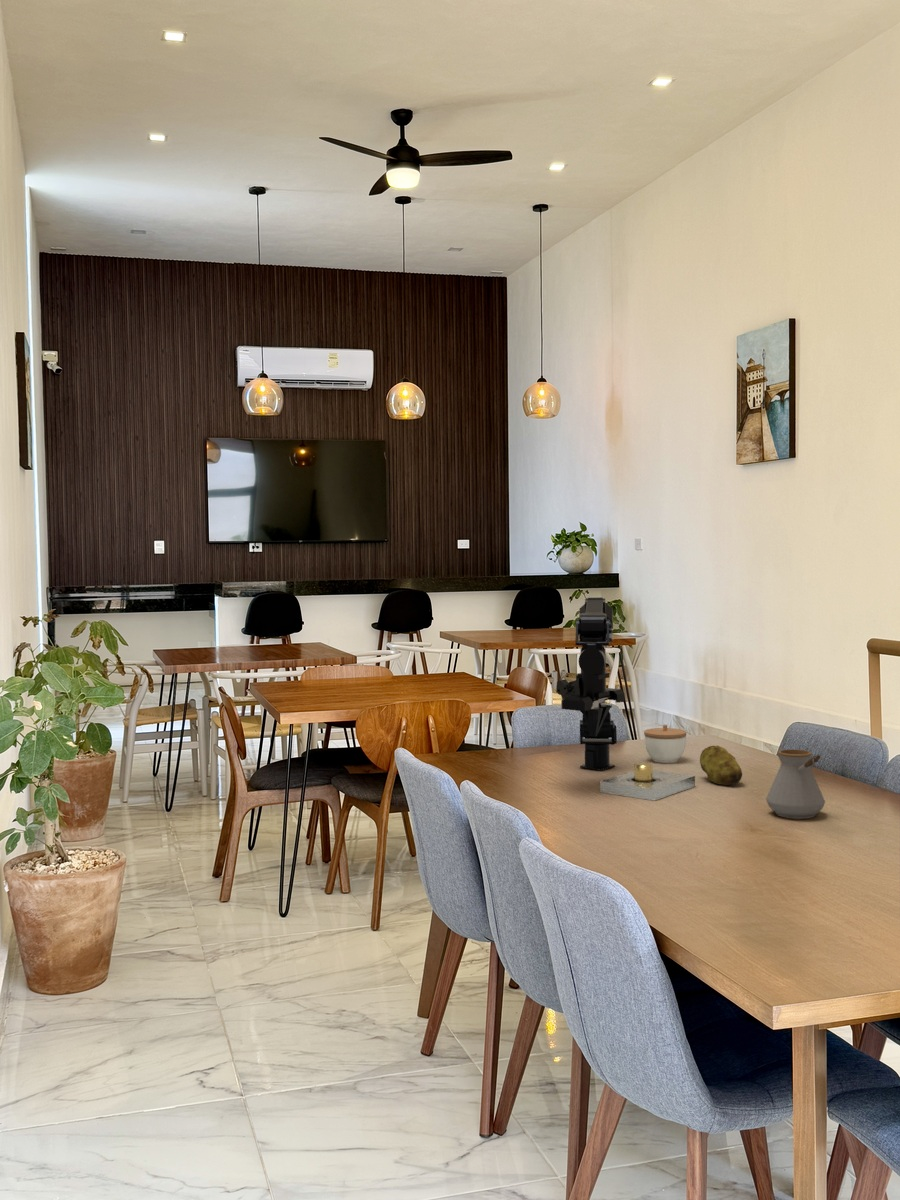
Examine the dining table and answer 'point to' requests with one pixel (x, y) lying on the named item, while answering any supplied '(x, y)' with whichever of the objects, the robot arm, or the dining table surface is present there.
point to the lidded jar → (665, 744)
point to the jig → (648, 785)
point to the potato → (720, 766)
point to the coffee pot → (796, 786)
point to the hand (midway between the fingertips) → (593, 736)
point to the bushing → (643, 772)
